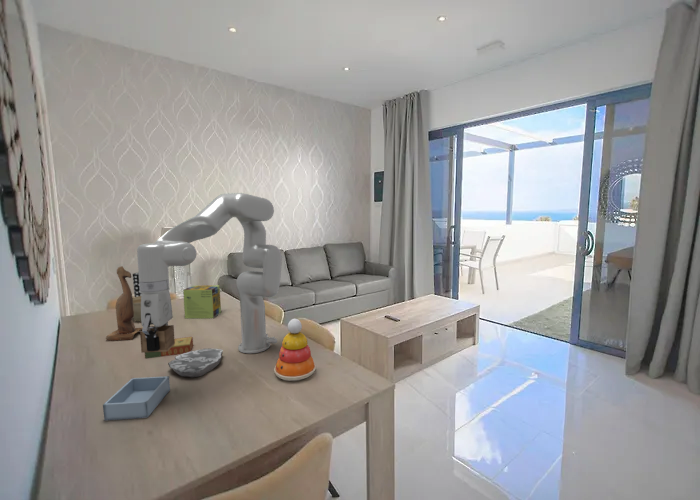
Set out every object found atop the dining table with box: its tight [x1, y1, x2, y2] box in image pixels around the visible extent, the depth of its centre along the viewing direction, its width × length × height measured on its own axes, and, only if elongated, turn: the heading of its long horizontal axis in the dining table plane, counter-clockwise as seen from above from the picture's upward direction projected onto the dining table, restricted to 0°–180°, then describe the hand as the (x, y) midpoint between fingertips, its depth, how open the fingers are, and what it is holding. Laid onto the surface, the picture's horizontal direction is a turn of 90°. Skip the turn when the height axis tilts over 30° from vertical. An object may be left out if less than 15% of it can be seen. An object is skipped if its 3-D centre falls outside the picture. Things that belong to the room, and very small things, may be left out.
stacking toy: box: [273, 318, 317, 381], centre depth 116 cm, size 14×14×20 cm
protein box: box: [182, 284, 222, 320], centre depth 181 cm, size 10×15×16 cm
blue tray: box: [102, 375, 171, 421], centre depth 99 cm, size 11×14×4 cm
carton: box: [144, 336, 194, 359], centre depth 136 cm, size 8×16×4 cm, turn 108°
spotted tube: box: [132, 272, 142, 297], centre depth 199 cm, size 8×8×20 cm
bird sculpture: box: [105, 265, 143, 342], centre depth 151 cm, size 11×12×32 cm
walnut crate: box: [139, 324, 175, 354], centre depth 100 cm, size 7×6×6 cm
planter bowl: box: [132, 296, 141, 322], centre depth 177 cm, size 16×16×11 cm
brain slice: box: [167, 348, 224, 378], centre depth 122 cm, size 20×17×3 cm
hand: (158, 345), depth 100 cm, fingers closed on walnut crate, 5 cm apart
